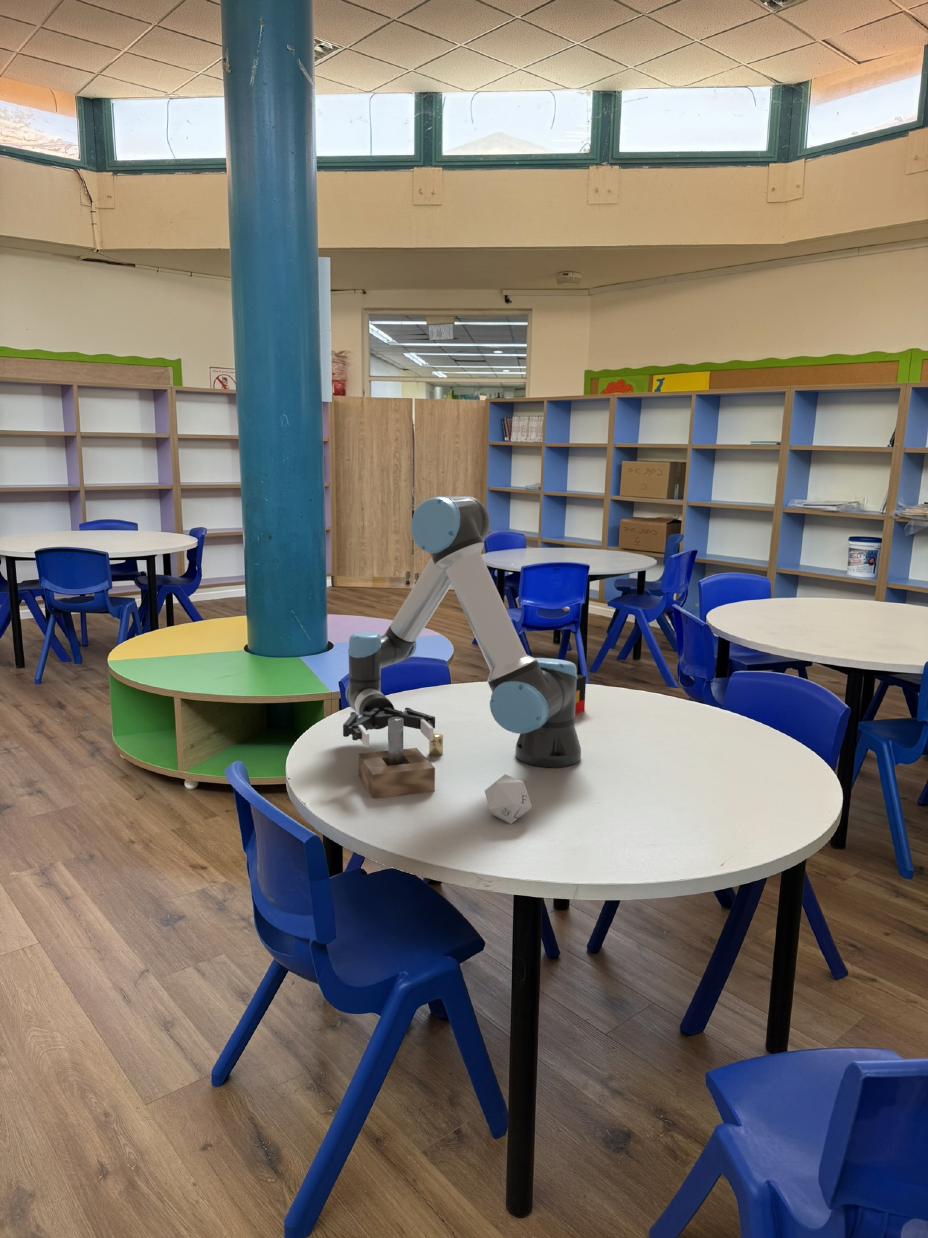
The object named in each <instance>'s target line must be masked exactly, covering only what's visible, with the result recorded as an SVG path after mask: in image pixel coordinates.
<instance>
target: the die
mask: <svg viewBox="0 0 928 1238" xmlns="http://www.w3.org/2000/svg"><path fill="white" fill-rule="evenodd" d="M484 794H485V798H486V801H487V802H486V803H487V805H488V809H489V811H490V813H491V815H492V816H493V817H496V818H498V819H499V820H501V821H504V822H506V823H508V824H510V825H512V824H513V823H514V822H515V821H517V820H518V819H519V818H520V817H522V816H523V815H524V814H525V813H527V812H528V811H529V810H531V808H533V807H532V803H531V800H530V797H529V793H528V791H527V787H526V785H525V782H524V781H523V780H520V779H518V778H516V777H513V776H510V775H508V774H506V773H504V774H502V776H501V777H500V778H498V779H497V780H496V781H494V783H492V784H491V785H489V786H488V787H487V788H485V790H484Z"/></svg>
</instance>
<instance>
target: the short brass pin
mask: <svg viewBox="0 0 928 1238" xmlns="http://www.w3.org/2000/svg"><path fill="white" fill-rule="evenodd" d="M443 751H444V734H442V733H438V732H436V733H435V732H433V741H429V740H428V755H430V756H432V757H440V756H442V755H444V752H443Z"/></svg>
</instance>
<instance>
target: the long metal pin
mask: <svg viewBox="0 0 928 1238" xmlns="http://www.w3.org/2000/svg"><path fill="white" fill-rule="evenodd" d="M403 722H404V719H403V718H401V717H391V718H389V719H388V726H387V751H388V766H391V765H400V764H403V749H404V726H403Z"/></svg>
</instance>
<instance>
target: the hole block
mask: <svg viewBox="0 0 928 1238" xmlns="http://www.w3.org/2000/svg"><path fill="white" fill-rule="evenodd" d="M357 755H358V757H357V758H358V767H357V768H358V777H359V779H360V781H361V782H362V783H363V785H364V787H365V788H366V790H367V791H368V793H369V794H370V796H371V797H372V799H379V798H387V797H396V796H403V795H404V796H405V795H413V794H421V793H429V792H435V786H436V785H435V784H436V767H435V766H434V765H433V764H432V762H430V761H429V759H428V758H426V756H425V755H424V754H423V753H422V752H421V750H419V749H418V748H417V747H411V748H410V747H409V748H403V764H400V765H391V766H388V750H382V751H381V750H380V751H373V752H372V751H371V752H363V753H362V752H360V753H358V754H357Z"/></svg>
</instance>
